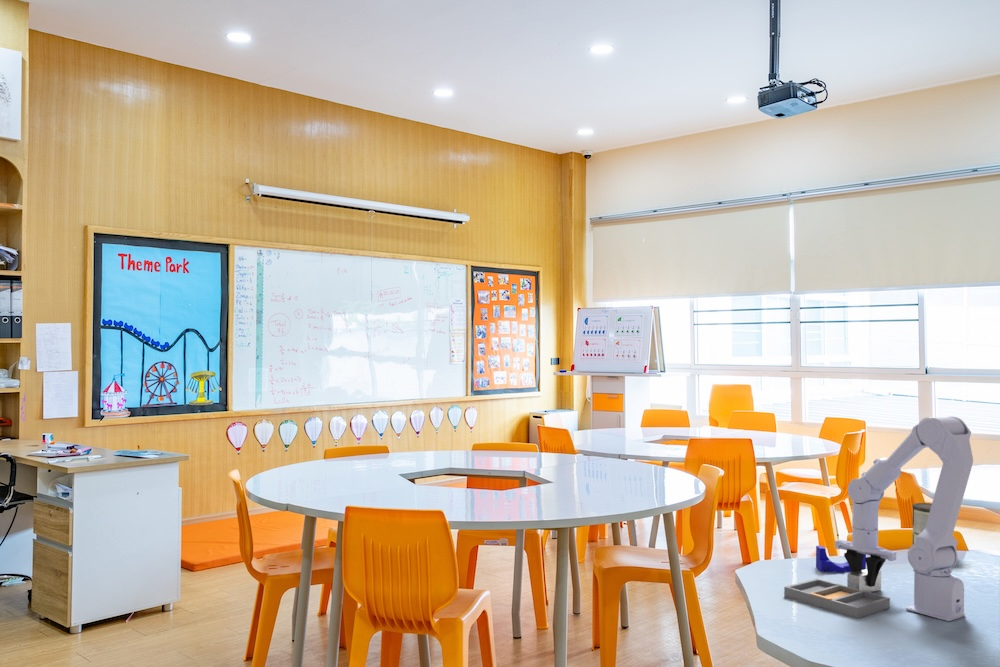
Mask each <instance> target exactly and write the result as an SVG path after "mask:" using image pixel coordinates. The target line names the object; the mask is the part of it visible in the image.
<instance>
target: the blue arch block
mask: <svg viewBox="0 0 1000 667" xmlns="http://www.w3.org/2000/svg"><path fill="white" fill-rule="evenodd" d="M866 557H867V555H866V554H864V556H863V561H862V570H864V569H867V565H866V560H865V558H866ZM815 568H816V569H817V570H819V571H820V572H822V573H826V572H827V573H837V574H838V573H840V574H841V573H842V574H845V572H847V573H852V572H851V569H850V566H849V564H848V562H847V561H845V562H842V563H841V562H840V563H838V562H834V561H832V560H831V559H829V557H828V555H827V550H826V548H825V547H824V546H823V545H816V548H815Z"/></svg>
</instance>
